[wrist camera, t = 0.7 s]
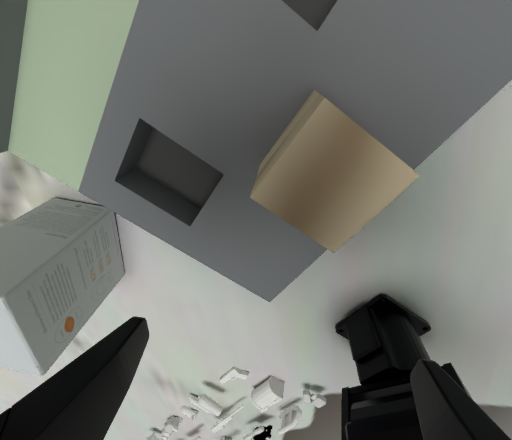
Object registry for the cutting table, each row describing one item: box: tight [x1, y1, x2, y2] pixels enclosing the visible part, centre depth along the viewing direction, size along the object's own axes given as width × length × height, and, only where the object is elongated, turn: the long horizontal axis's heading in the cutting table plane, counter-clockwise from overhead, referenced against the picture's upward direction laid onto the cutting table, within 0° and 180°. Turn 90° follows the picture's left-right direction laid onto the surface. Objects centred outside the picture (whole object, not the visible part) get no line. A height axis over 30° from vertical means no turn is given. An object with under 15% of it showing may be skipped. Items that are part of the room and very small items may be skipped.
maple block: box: [250, 90, 420, 253], centre depth 13 cm, size 5×5×5 cm
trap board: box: [0, 0, 512, 302], centre depth 14 cm, size 23×24×5 cm
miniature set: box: [146, 367, 326, 440], centre depth 38 cm, size 6×35×12 cm
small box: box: [0, 198, 125, 376], centre depth 20 cm, size 8×6×10 cm
